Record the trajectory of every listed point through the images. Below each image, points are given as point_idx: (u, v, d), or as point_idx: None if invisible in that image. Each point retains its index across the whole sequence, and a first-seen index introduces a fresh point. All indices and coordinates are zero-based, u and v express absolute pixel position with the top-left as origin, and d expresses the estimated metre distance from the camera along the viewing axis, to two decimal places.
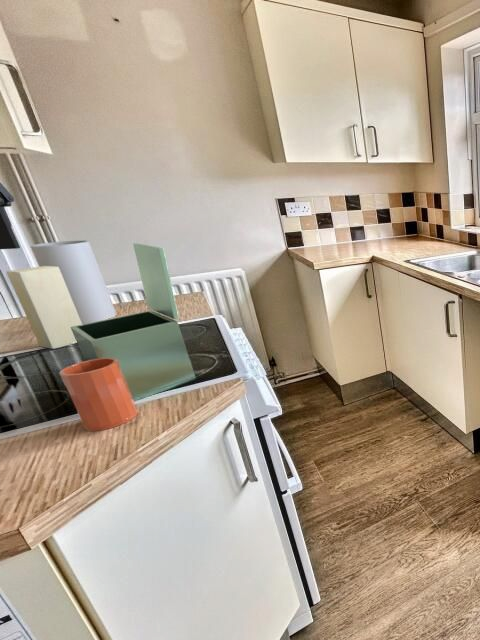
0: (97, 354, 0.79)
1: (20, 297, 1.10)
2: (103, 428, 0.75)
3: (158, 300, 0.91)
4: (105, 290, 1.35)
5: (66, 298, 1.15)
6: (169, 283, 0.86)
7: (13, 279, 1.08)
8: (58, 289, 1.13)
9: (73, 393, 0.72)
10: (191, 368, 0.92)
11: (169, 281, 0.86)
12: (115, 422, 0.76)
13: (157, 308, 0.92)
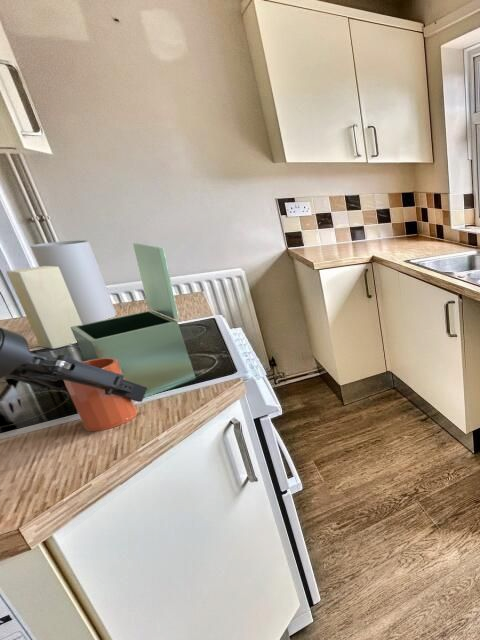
0: (97, 354, 0.79)
1: (20, 297, 1.10)
2: (103, 428, 0.75)
3: (158, 300, 0.91)
4: (105, 290, 1.35)
5: (66, 298, 1.15)
6: (169, 283, 0.86)
7: (13, 279, 1.08)
8: (58, 289, 1.13)
9: (73, 393, 0.72)
10: (191, 368, 0.92)
11: (169, 281, 0.86)
12: (115, 422, 0.76)
13: (157, 308, 0.92)
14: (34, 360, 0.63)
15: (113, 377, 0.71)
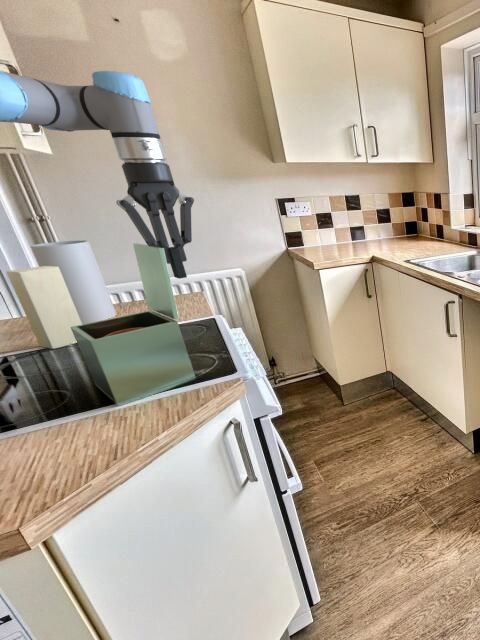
0: (97, 354, 0.79)
1: (20, 297, 1.10)
2: None
3: (158, 300, 0.91)
4: (105, 290, 1.35)
5: (66, 298, 1.15)
6: (169, 283, 0.86)
7: (13, 279, 1.08)
8: (58, 289, 1.13)
9: None
10: (191, 368, 0.92)
11: (169, 281, 0.86)
12: None
13: (157, 308, 0.92)
14: None
15: None
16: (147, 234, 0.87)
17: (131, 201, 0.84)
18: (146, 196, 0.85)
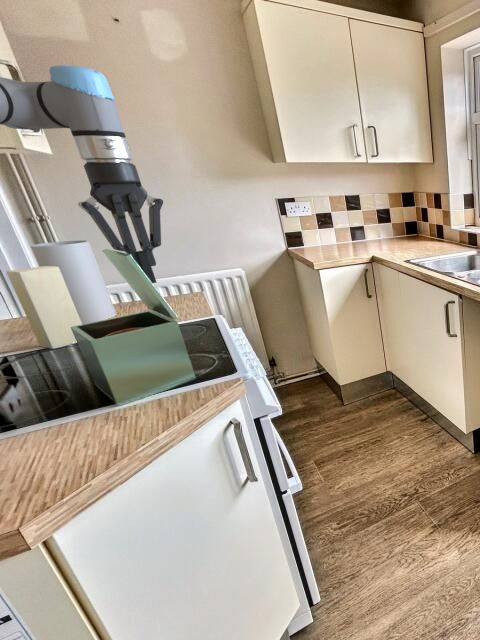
0: (97, 354, 0.79)
1: (20, 297, 1.10)
2: None
3: (152, 302, 0.90)
4: (105, 290, 1.35)
5: (66, 298, 1.15)
6: (153, 287, 0.84)
7: (13, 279, 1.08)
8: (58, 289, 1.13)
9: None
10: (191, 368, 0.92)
11: (152, 285, 0.84)
12: None
13: (155, 309, 0.92)
14: None
15: None
16: (112, 238, 0.82)
17: (94, 203, 0.80)
18: (110, 198, 0.81)
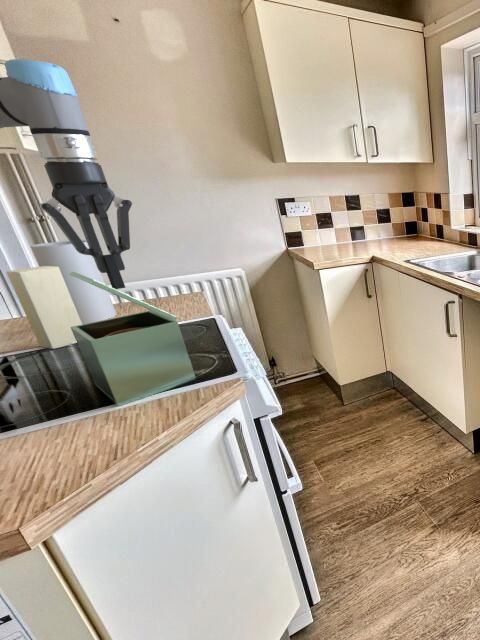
0: (97, 354, 0.79)
1: (20, 297, 1.10)
2: None
3: None
4: (105, 290, 1.35)
5: (66, 298, 1.15)
6: (136, 300, 0.82)
7: (13, 279, 1.08)
8: (58, 289, 1.13)
9: None
10: (191, 368, 0.92)
11: (134, 299, 0.82)
12: None
13: None
14: None
15: None
16: (76, 241, 0.78)
17: (56, 205, 0.76)
18: (73, 199, 0.77)
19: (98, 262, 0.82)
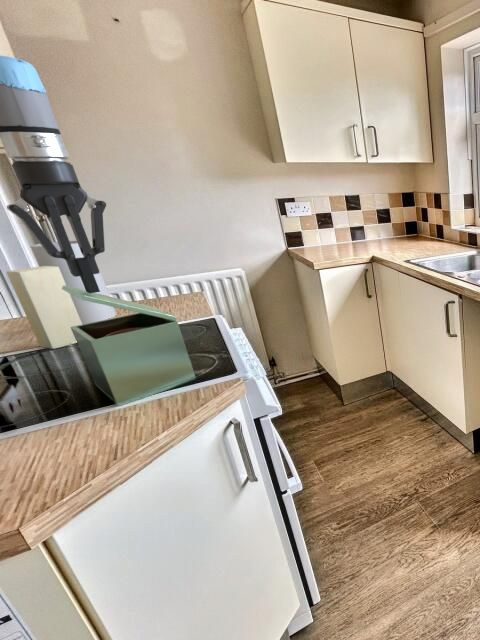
0: (97, 354, 0.79)
1: (20, 297, 1.10)
2: None
3: None
4: (105, 290, 1.35)
5: (66, 298, 1.15)
6: (131, 308, 0.82)
7: (13, 279, 1.08)
8: (58, 289, 1.13)
9: None
10: (191, 368, 0.92)
11: (129, 307, 0.81)
12: None
13: None
14: None
15: None
16: (46, 243, 0.75)
17: (24, 206, 0.73)
18: (43, 200, 0.74)
19: (70, 265, 0.79)
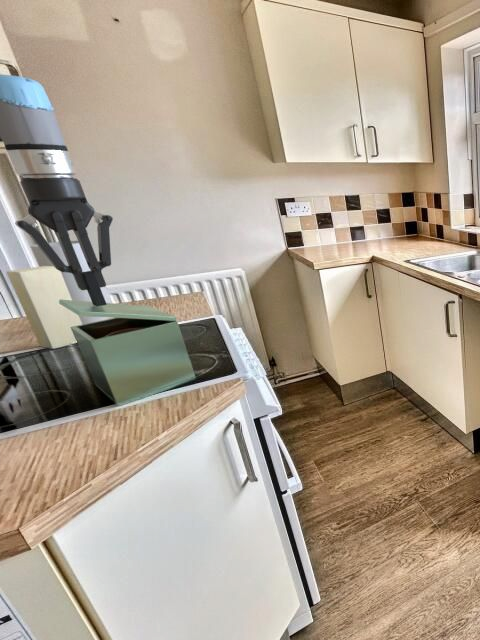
0: (97, 354, 0.79)
1: (20, 297, 1.10)
2: None
3: None
4: (105, 290, 1.35)
5: (66, 298, 1.15)
6: (130, 315, 0.82)
7: (13, 279, 1.08)
8: (58, 289, 1.13)
9: None
10: (191, 368, 0.92)
11: (127, 315, 0.81)
12: None
13: None
14: None
15: None
16: (54, 258, 0.76)
17: (33, 222, 0.74)
18: (51, 216, 0.75)
19: (77, 279, 0.80)
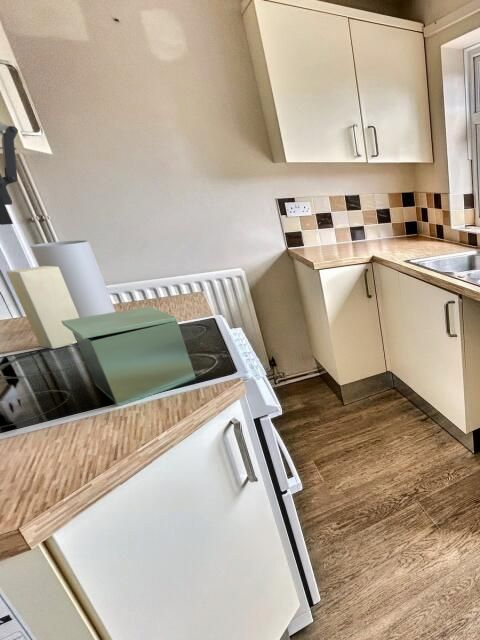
0: (97, 354, 0.79)
1: (20, 297, 1.10)
2: None
3: None
4: (105, 290, 1.35)
5: (66, 298, 1.15)
6: (130, 327, 0.82)
7: (13, 279, 1.08)
8: (58, 289, 1.13)
9: None
10: (191, 368, 0.92)
11: (128, 327, 0.82)
12: None
13: None
14: None
15: None
16: None
17: None
18: None
19: None
